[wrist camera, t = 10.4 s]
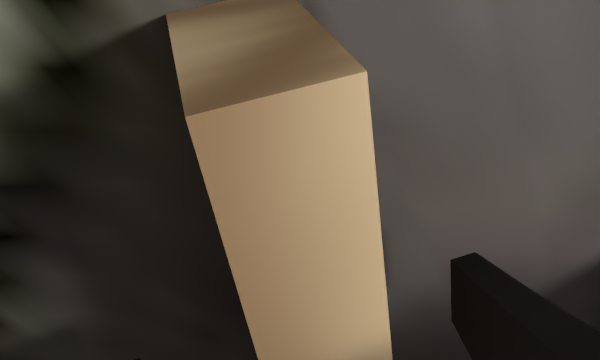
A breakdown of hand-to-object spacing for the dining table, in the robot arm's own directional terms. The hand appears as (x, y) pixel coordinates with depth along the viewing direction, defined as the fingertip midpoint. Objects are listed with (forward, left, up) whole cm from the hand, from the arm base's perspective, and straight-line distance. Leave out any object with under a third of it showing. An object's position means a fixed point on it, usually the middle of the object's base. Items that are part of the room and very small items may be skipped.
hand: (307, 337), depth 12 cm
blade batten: (0, +1, -2) cm, 2 cm away
